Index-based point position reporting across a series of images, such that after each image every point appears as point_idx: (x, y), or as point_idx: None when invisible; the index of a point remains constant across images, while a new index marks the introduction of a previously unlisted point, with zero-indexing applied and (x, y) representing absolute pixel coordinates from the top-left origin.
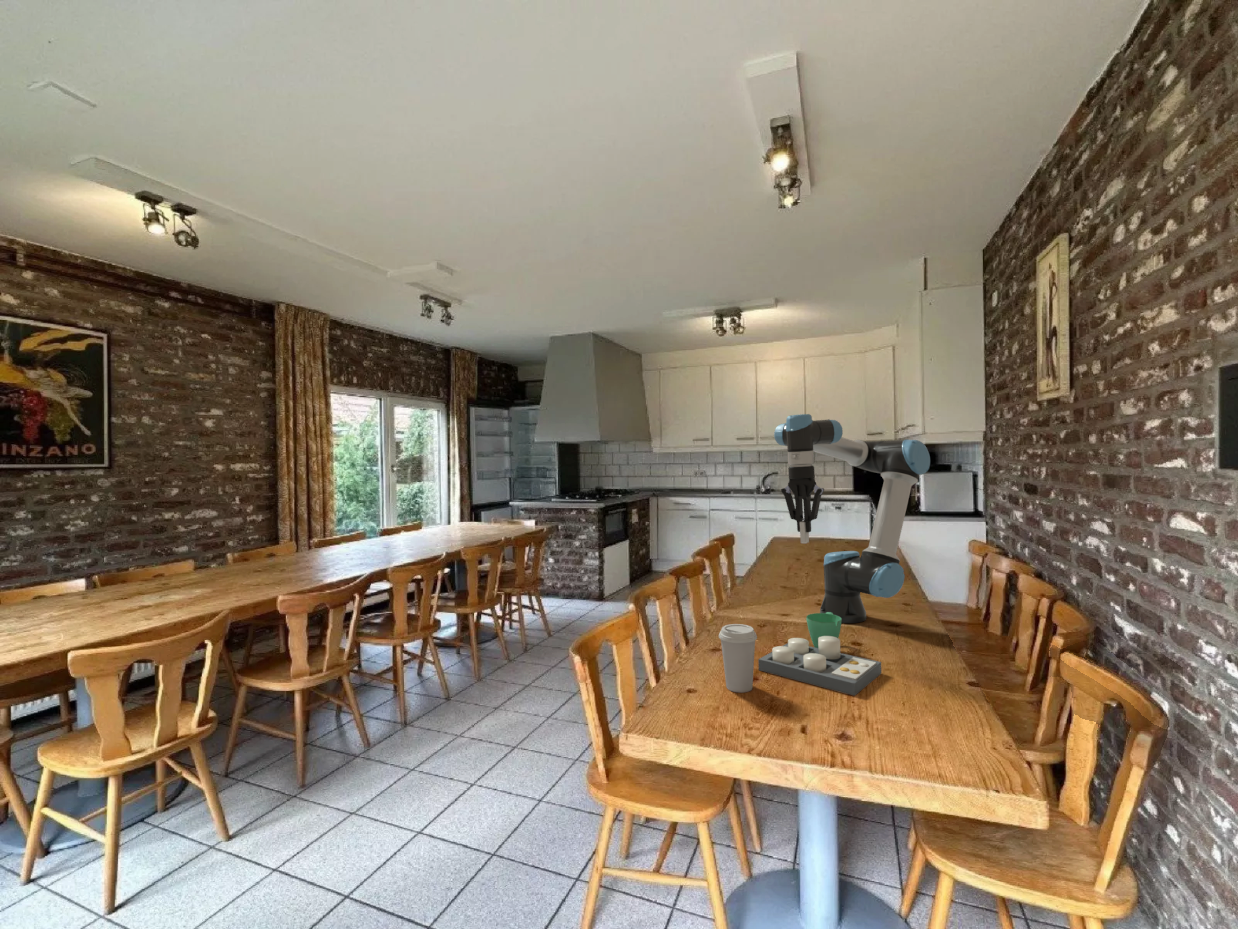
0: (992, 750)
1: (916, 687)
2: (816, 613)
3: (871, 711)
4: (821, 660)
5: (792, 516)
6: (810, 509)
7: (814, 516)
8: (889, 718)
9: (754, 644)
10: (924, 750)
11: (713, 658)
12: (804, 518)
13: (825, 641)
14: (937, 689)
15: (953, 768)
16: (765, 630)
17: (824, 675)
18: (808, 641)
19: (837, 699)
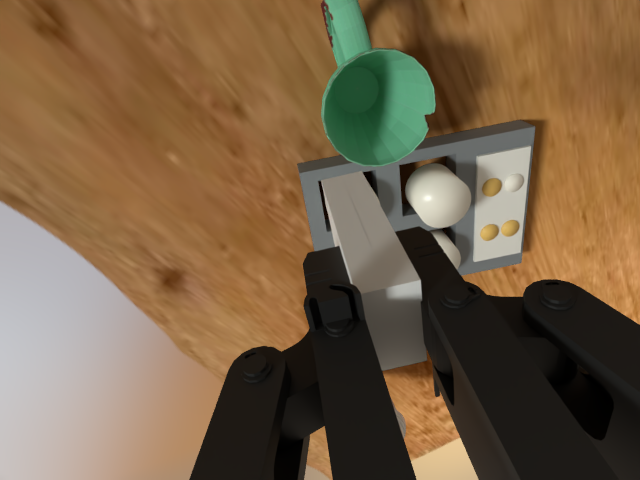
0: None
1: (595, 134)
2: (332, 81)
3: (547, 275)
4: (457, 267)
5: (290, 448)
6: (566, 422)
7: (591, 379)
8: (574, 274)
9: (395, 408)
10: (625, 311)
11: (215, 313)
12: (443, 391)
13: (445, 223)
14: (632, 112)
15: None
16: (107, 60)
17: (464, 272)
18: (375, 195)
19: (491, 280)
